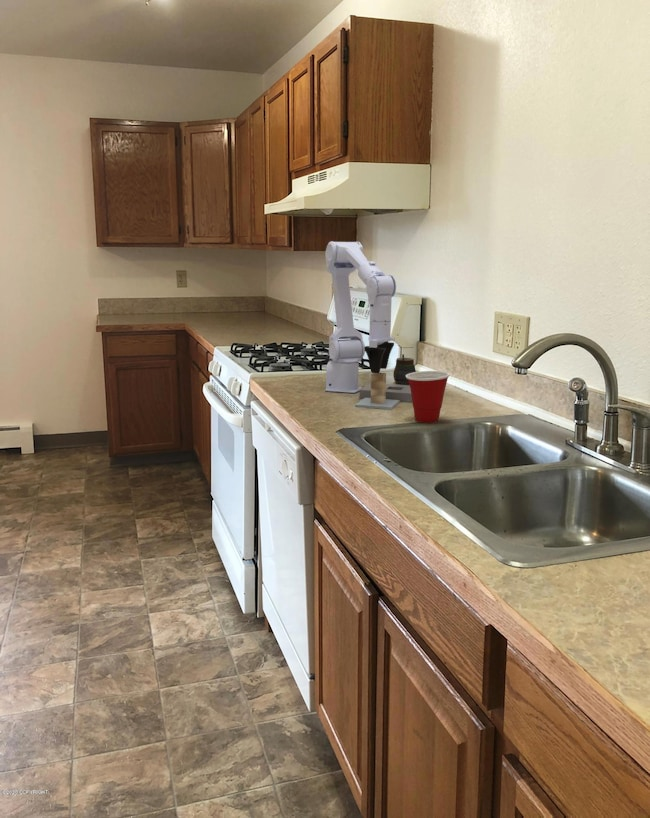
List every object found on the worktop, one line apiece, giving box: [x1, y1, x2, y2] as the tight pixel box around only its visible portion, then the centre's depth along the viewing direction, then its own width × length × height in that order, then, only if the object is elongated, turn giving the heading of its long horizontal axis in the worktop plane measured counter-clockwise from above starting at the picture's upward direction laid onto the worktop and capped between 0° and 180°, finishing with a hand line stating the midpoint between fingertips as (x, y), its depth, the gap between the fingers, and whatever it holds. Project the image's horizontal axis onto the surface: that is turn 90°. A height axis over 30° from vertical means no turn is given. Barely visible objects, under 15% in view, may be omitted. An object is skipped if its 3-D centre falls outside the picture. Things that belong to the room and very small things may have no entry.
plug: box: [370, 372, 387, 404], centre depth 196 cm, size 3×3×8 cm
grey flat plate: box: [358, 382, 412, 403], centre depth 207 cm, size 18×12×2 cm, turn 71°
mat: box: [355, 398, 401, 410], centre depth 197 cm, size 10×10×1 cm
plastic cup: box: [406, 370, 450, 424], centre depth 178 cm, size 11×11×12 cm
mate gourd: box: [392, 354, 417, 385], centre depth 227 cm, size 7×8×10 cm
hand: (378, 370), depth 195 cm, fingers open, 7 cm apart
